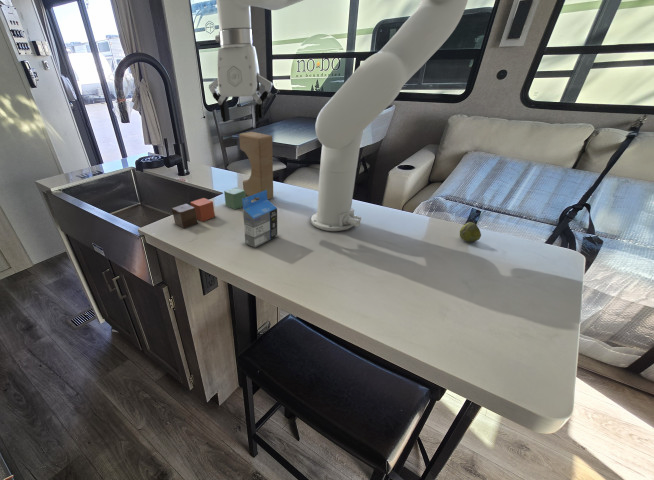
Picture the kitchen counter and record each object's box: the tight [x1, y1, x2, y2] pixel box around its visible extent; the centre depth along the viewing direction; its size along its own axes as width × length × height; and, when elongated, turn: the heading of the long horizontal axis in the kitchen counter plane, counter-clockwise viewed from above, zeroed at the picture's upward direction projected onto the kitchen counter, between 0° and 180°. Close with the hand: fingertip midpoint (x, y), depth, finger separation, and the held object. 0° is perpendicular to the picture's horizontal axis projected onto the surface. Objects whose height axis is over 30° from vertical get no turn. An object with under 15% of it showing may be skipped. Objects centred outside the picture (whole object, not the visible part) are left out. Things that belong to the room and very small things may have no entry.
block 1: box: [171, 203, 199, 229], centre depth 94 cm, size 5×5×5 cm
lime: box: [459, 221, 482, 243], centre depth 78 cm, size 4×5×5 cm
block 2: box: [190, 197, 216, 223], centre depth 97 cm, size 5×5×5 cm
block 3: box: [223, 187, 247, 210], centre depth 104 cm, size 5×5×5 cm
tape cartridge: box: [242, 190, 278, 249], centre depth 81 cm, size 9×4×12 cm, turn 135°
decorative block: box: [238, 131, 274, 201], centre depth 105 cm, size 11×6×20 cm, turn 38°
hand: (242, 121), depth 84 cm, fingers open, 9 cm apart
